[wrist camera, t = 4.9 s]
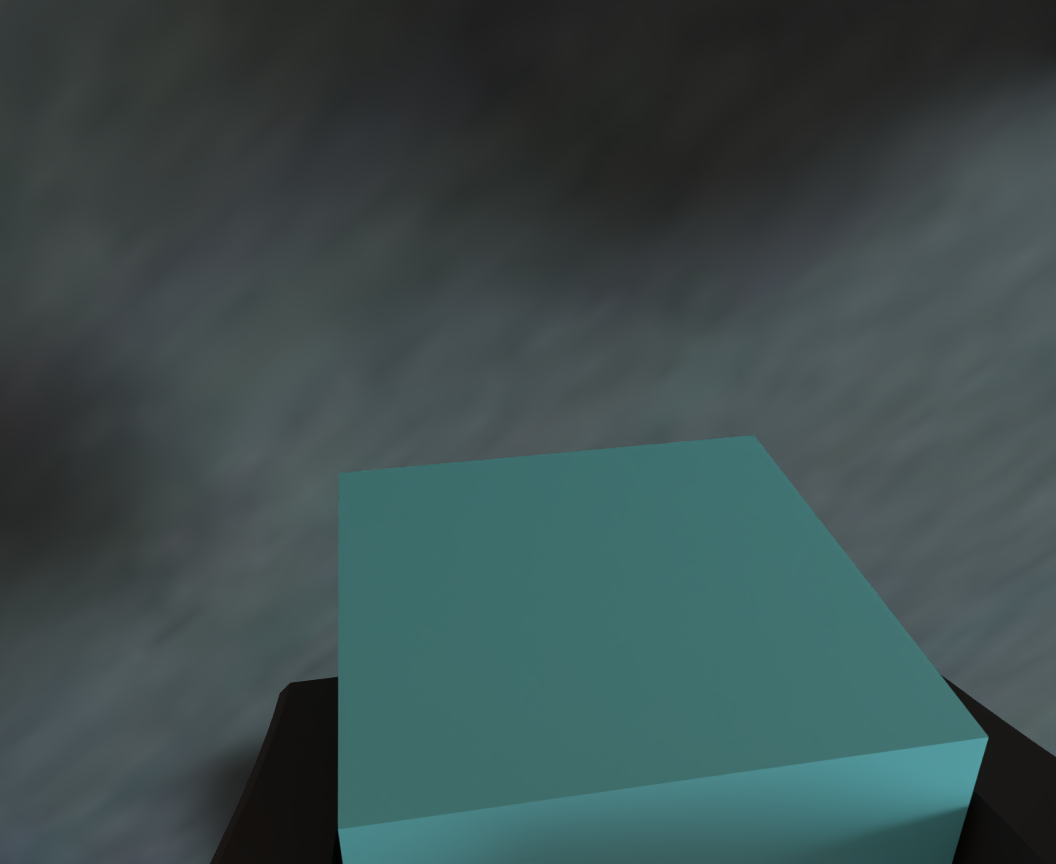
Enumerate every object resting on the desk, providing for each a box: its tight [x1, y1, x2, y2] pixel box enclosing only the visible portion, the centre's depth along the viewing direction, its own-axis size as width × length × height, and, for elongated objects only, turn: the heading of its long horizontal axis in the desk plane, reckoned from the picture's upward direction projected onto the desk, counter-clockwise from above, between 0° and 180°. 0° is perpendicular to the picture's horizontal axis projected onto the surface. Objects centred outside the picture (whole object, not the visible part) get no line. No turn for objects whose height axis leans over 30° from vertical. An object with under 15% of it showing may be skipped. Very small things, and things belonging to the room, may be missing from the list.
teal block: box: [338, 435, 989, 864], centre depth 10 cm, size 4×4×4 cm
